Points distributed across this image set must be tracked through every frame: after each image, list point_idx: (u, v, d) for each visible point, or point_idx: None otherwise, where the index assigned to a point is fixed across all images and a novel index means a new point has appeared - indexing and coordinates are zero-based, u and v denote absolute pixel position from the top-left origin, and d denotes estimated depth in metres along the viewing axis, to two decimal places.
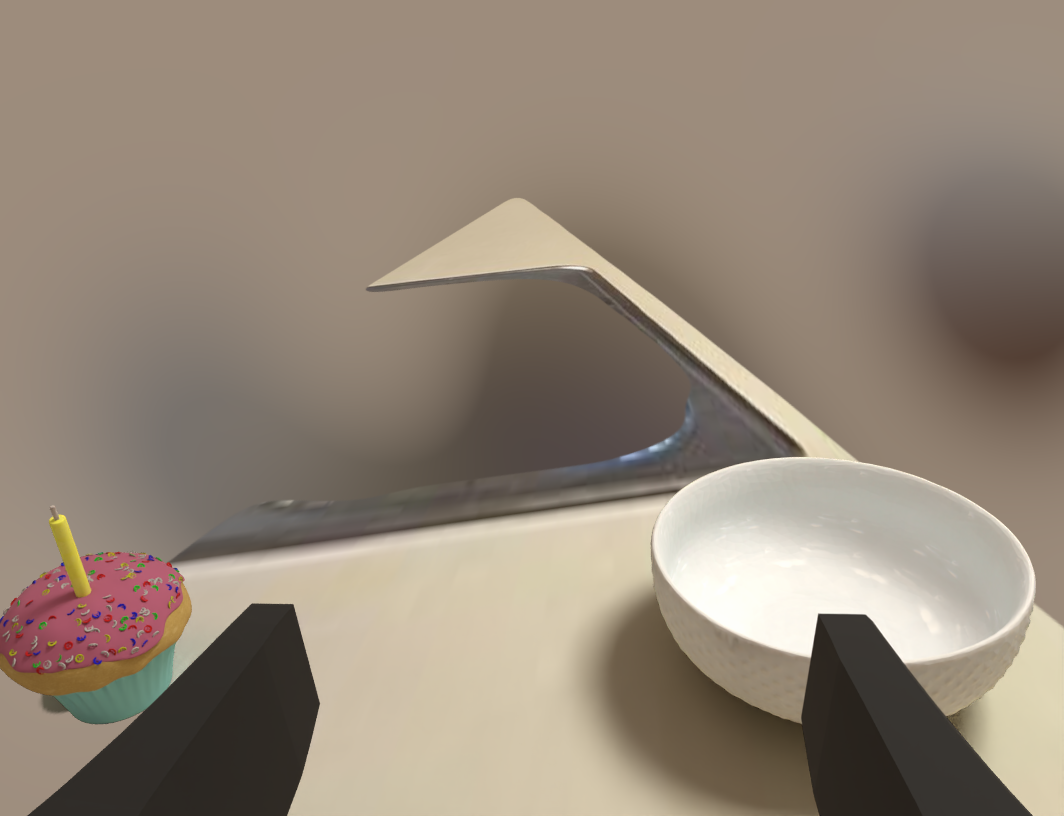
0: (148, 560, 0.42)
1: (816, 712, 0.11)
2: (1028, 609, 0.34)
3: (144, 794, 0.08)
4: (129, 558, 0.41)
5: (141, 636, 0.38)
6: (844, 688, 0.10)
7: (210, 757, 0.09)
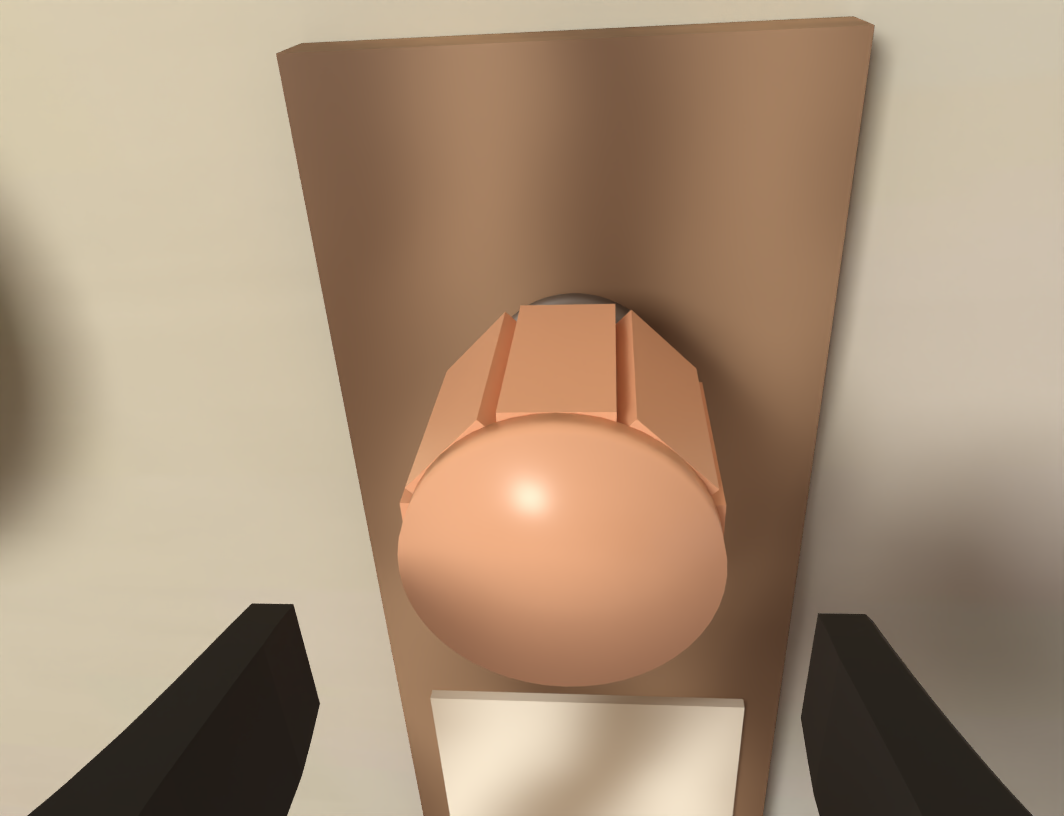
0: None
1: (816, 712, 0.11)
2: None
3: (144, 794, 0.08)
4: None
5: None
6: (844, 688, 0.10)
7: (210, 757, 0.09)
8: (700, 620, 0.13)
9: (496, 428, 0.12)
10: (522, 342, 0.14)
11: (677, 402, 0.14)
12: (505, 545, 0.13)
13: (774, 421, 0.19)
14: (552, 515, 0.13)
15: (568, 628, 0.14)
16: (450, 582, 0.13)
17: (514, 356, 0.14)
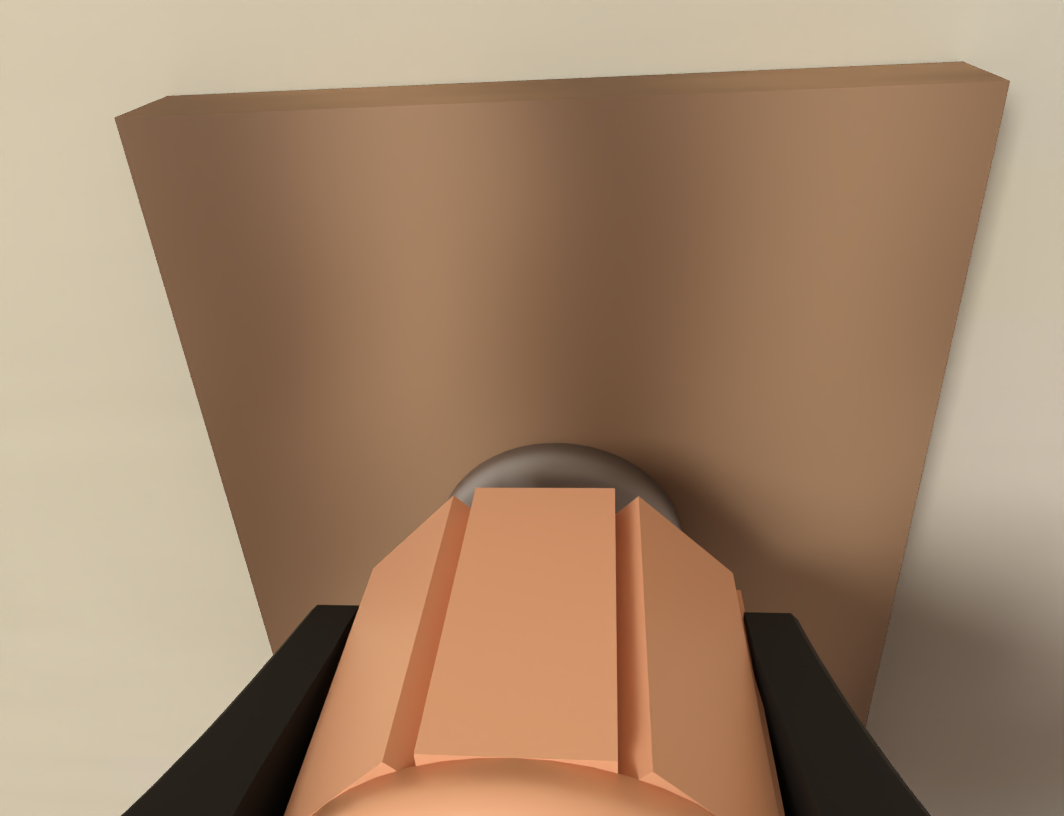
0: None
1: None
2: None
3: (233, 798, 0.08)
4: None
5: None
6: (761, 686, 0.10)
7: (290, 760, 0.09)
8: None
9: (413, 786, 0.07)
10: (472, 572, 0.09)
11: (711, 675, 0.09)
12: None
13: (832, 604, 0.14)
14: None
15: None
16: None
17: (457, 605, 0.09)
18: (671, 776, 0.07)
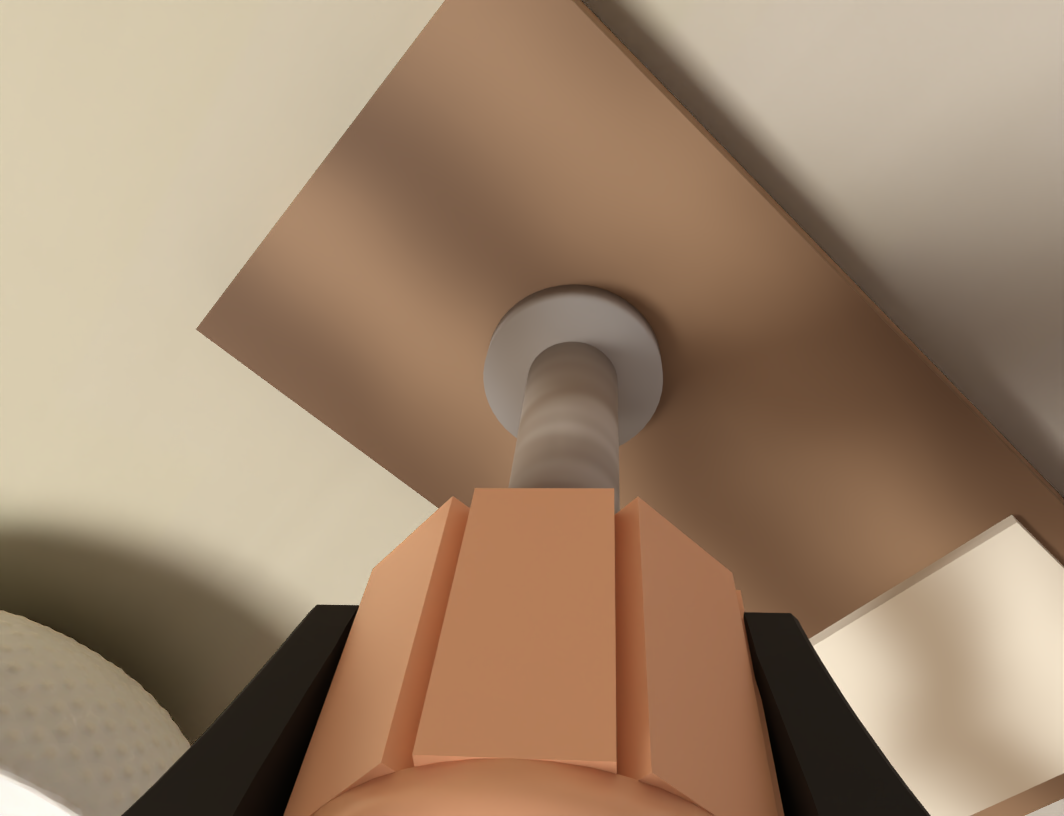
0: None
1: None
2: None
3: (233, 798, 0.08)
4: None
5: None
6: (761, 686, 0.10)
7: (290, 760, 0.09)
8: None
9: (412, 786, 0.07)
10: (471, 572, 0.09)
11: (710, 675, 0.09)
12: None
13: (762, 266, 0.18)
14: None
15: None
16: None
17: (456, 606, 0.09)
18: (670, 776, 0.07)
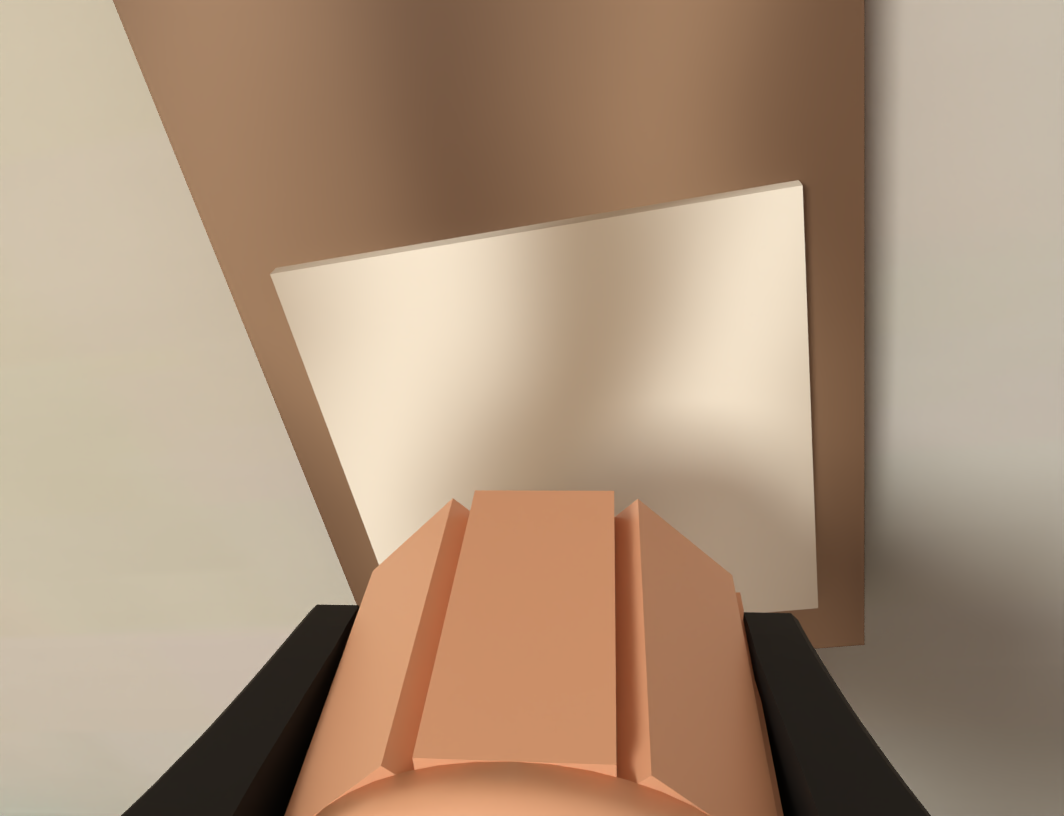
0: None
1: None
2: None
3: (233, 798, 0.08)
4: None
5: None
6: (761, 685, 0.10)
7: (290, 760, 0.09)
8: None
9: (412, 790, 0.07)
10: (471, 575, 0.09)
11: (710, 678, 0.09)
12: None
13: None
14: None
15: None
16: None
17: (456, 609, 0.09)
18: (670, 780, 0.07)
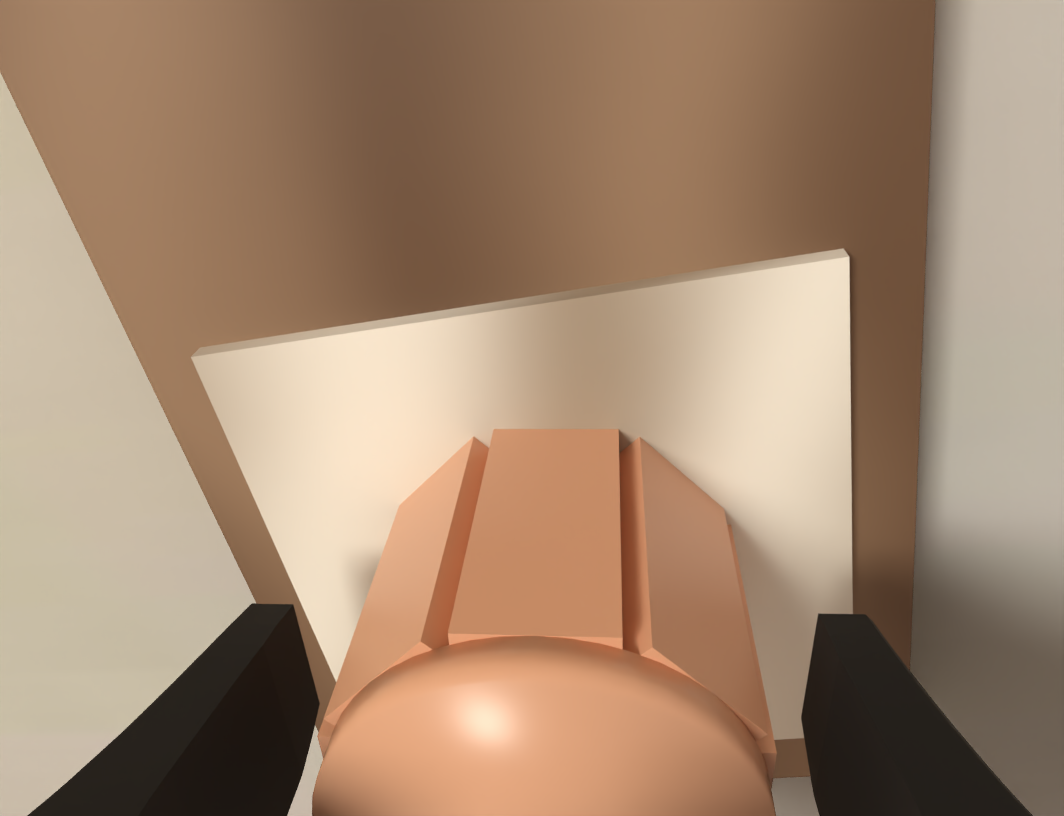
0: None
1: (816, 712, 0.11)
2: None
3: (144, 794, 0.08)
4: None
5: None
6: (844, 688, 0.10)
7: (210, 757, 0.09)
8: None
9: (448, 659, 0.08)
10: (492, 495, 0.11)
11: (703, 584, 0.10)
12: (463, 809, 0.09)
13: None
14: (529, 777, 0.09)
15: None
16: None
17: (480, 521, 0.10)
18: (668, 653, 0.09)
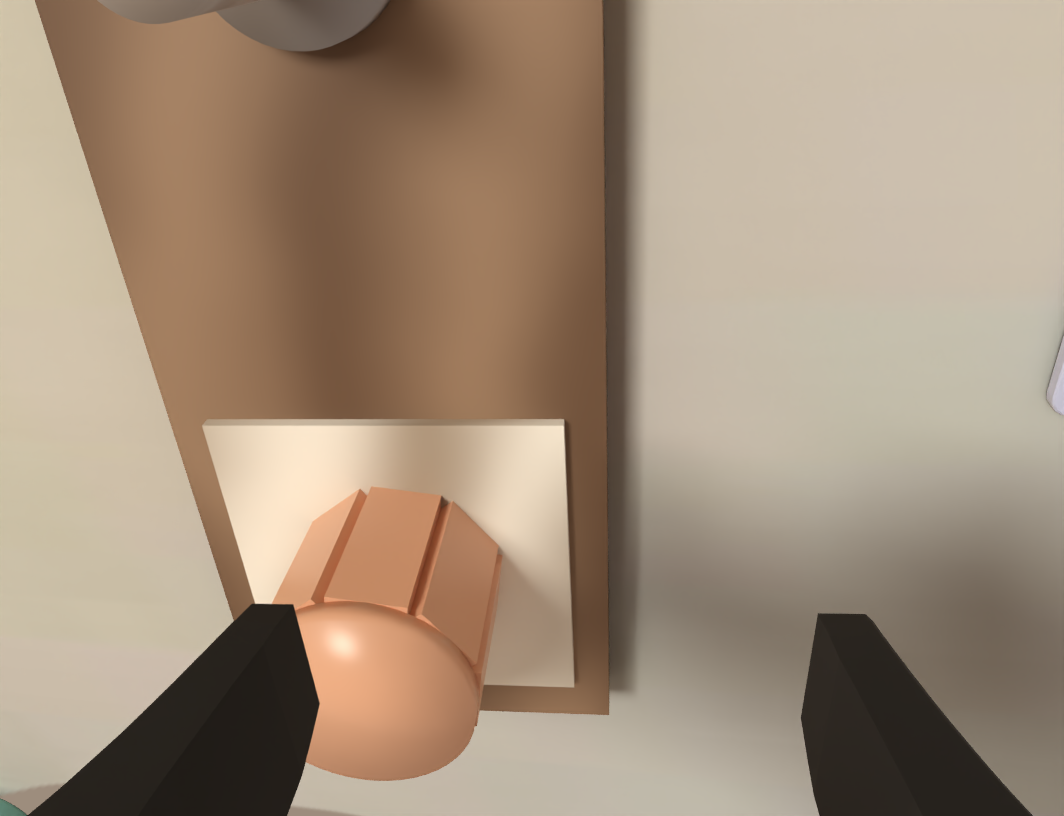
0: None
1: (816, 712, 0.11)
2: None
3: (144, 795, 0.08)
4: None
5: None
6: (844, 688, 0.10)
7: (210, 757, 0.09)
8: (457, 748, 0.19)
9: (322, 608, 0.18)
10: (361, 527, 0.20)
11: (465, 586, 0.20)
12: (322, 684, 0.18)
13: None
14: (355, 670, 0.18)
15: (364, 741, 0.19)
16: None
17: (352, 541, 0.19)
18: (430, 618, 0.18)
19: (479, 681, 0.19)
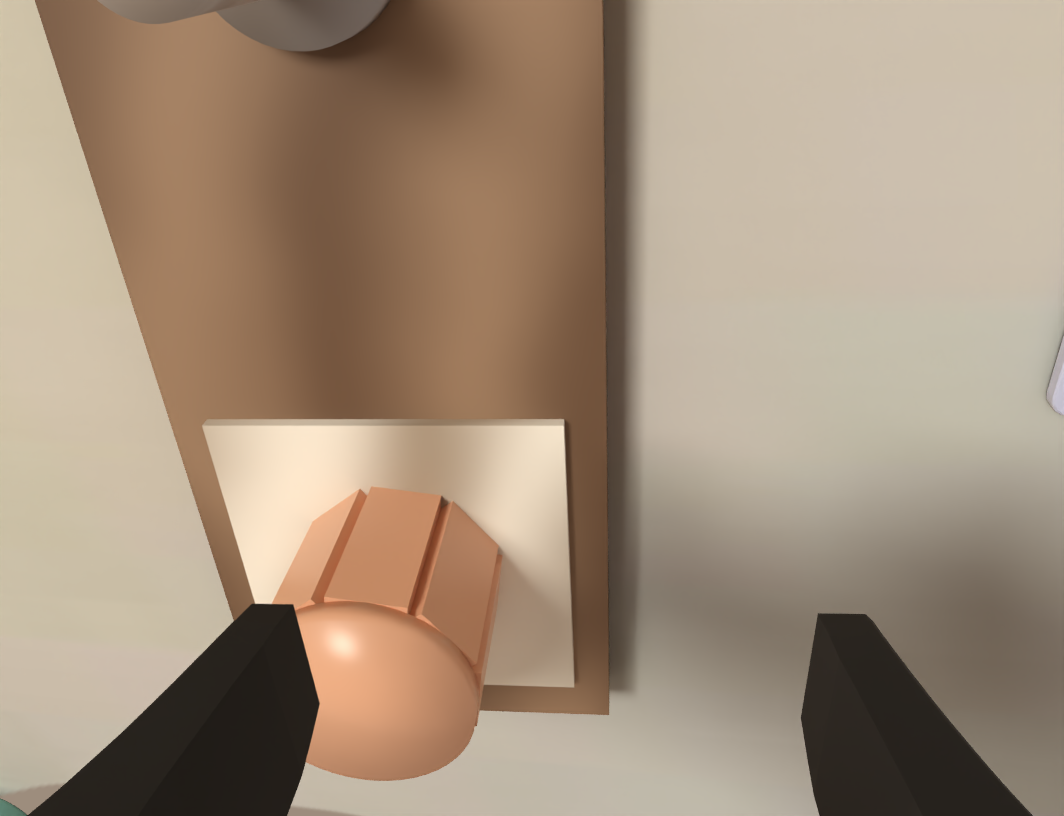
0: None
1: (816, 712, 0.11)
2: None
3: (144, 795, 0.08)
4: None
5: None
6: (844, 688, 0.10)
7: (210, 757, 0.09)
8: (457, 748, 0.19)
9: (322, 608, 0.18)
10: (361, 527, 0.20)
11: (465, 586, 0.20)
12: (322, 684, 0.18)
13: None
14: (355, 670, 0.18)
15: (364, 741, 0.19)
16: None
17: (352, 541, 0.19)
18: (430, 618, 0.18)
19: (479, 681, 0.19)
